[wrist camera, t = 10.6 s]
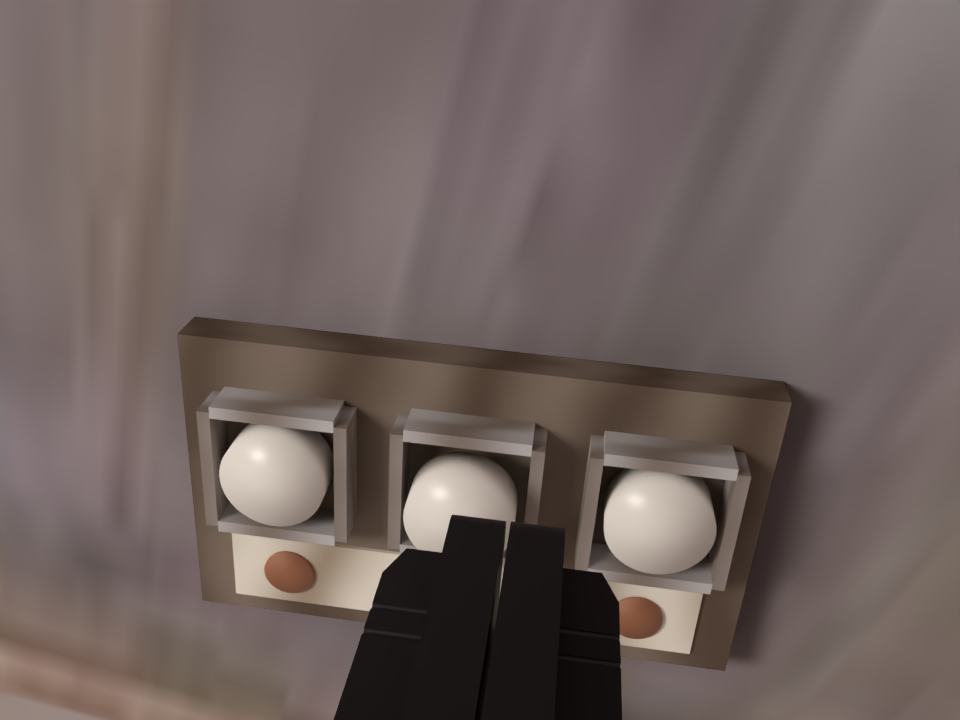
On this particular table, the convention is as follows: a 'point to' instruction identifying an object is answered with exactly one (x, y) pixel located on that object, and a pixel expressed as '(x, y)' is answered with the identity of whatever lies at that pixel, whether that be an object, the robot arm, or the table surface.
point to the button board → (485, 431)
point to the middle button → (457, 497)
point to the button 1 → (277, 473)
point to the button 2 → (658, 520)
